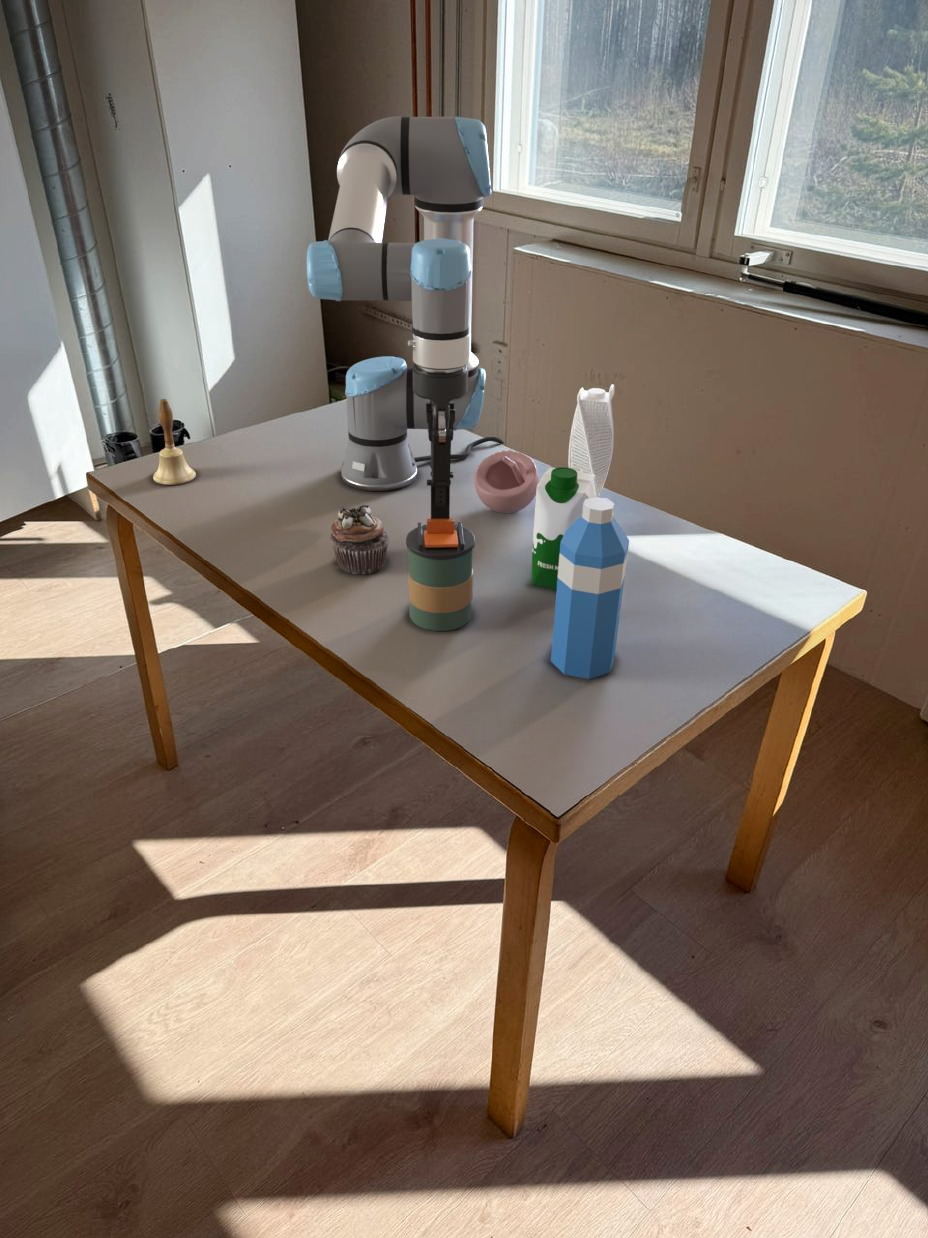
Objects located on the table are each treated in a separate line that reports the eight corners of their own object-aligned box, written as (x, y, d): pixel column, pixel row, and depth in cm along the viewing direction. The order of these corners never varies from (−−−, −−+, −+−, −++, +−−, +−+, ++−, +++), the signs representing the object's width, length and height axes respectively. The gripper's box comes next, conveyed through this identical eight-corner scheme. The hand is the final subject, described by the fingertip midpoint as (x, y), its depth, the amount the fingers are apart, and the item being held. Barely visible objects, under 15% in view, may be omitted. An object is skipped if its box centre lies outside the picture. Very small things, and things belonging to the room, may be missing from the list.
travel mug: (408, 598, 147) (406, 528, 141) (469, 597, 148) (471, 527, 141) (408, 632, 139) (407, 560, 132) (474, 631, 140) (476, 558, 133)
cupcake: (345, 582, 151) (342, 527, 146) (325, 556, 158) (321, 503, 153) (399, 569, 155) (397, 515, 150) (376, 545, 162) (374, 493, 157)
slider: (424, 533, 137) (424, 518, 135) (456, 533, 137) (456, 517, 136) (424, 547, 133) (424, 532, 132) (458, 547, 133) (458, 531, 132)
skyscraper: (613, 536, 166) (631, 385, 151) (580, 546, 163) (594, 392, 148) (586, 519, 172) (601, 371, 157) (554, 528, 169) (565, 378, 154)
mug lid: (405, 528, 141) (405, 518, 140) (472, 527, 141) (472, 517, 140) (406, 560, 132) (406, 550, 131) (477, 559, 133) (477, 549, 132)
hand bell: (181, 465, 190) (169, 389, 181) (204, 476, 185) (192, 400, 177) (145, 476, 185) (131, 399, 176) (167, 489, 180) (153, 410, 172)
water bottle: (545, 643, 137) (557, 489, 124) (607, 640, 138) (625, 487, 124) (556, 680, 129) (570, 520, 116) (621, 677, 130) (642, 518, 117)
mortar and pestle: (464, 517, 172) (465, 459, 166) (487, 492, 181) (488, 437, 175) (525, 529, 168) (528, 470, 162) (545, 503, 178) (549, 447, 171)
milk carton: (525, 586, 151) (532, 474, 140) (539, 561, 158) (547, 452, 147) (577, 596, 149) (589, 482, 138) (589, 570, 156) (601, 460, 145)
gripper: (411, 350, 129) (414, 503, 142) (413, 380, 118) (415, 543, 131) (465, 350, 129) (462, 502, 142) (471, 380, 118) (468, 542, 131)
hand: (440, 522), depth 136 cm, fingers closed
